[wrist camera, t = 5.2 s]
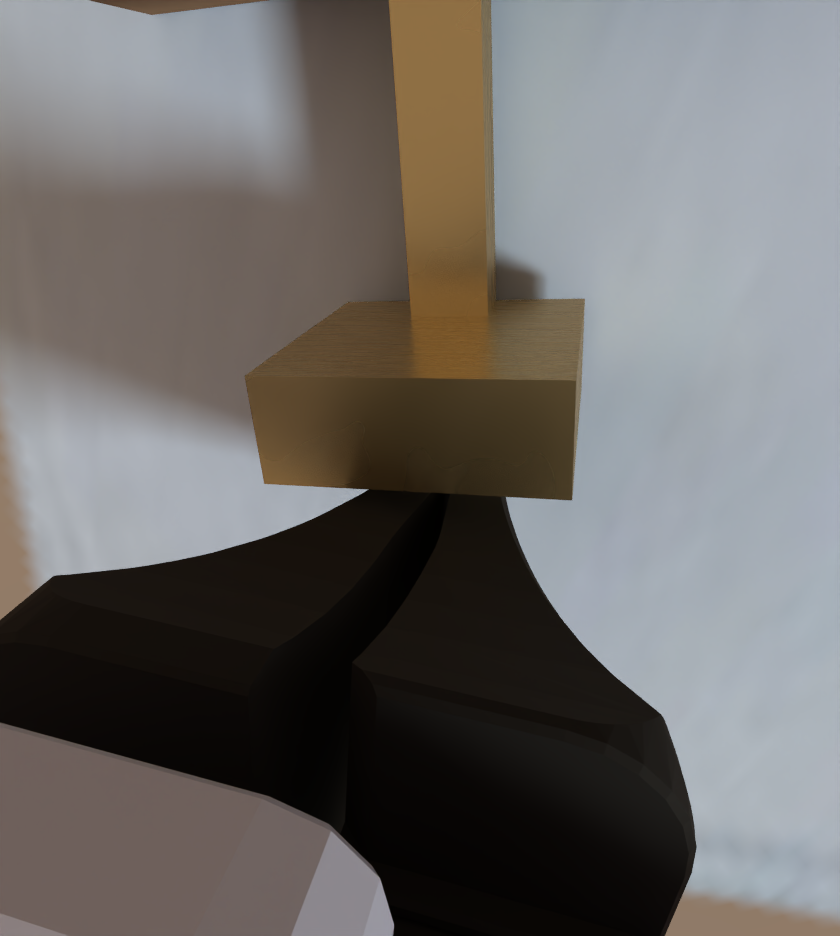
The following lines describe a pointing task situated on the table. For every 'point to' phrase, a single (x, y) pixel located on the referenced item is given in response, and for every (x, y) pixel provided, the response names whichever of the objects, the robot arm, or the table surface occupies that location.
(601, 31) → the table surface
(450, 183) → the tan block with bar
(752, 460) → the table surface
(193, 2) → the socket holder
